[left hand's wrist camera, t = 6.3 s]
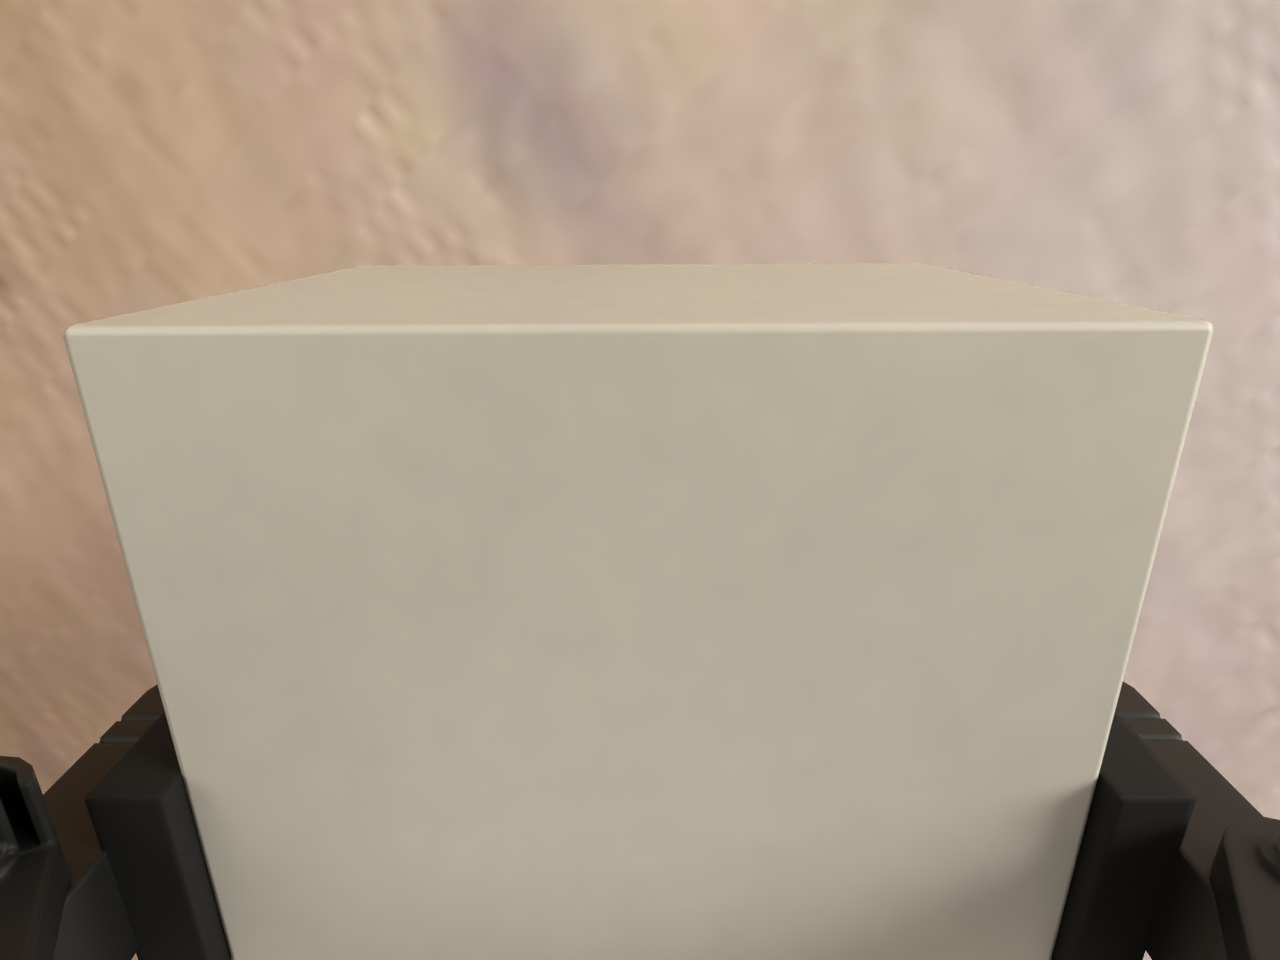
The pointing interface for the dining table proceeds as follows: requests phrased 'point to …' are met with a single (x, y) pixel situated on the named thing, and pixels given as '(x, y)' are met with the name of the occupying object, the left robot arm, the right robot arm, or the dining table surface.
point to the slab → (640, 599)
